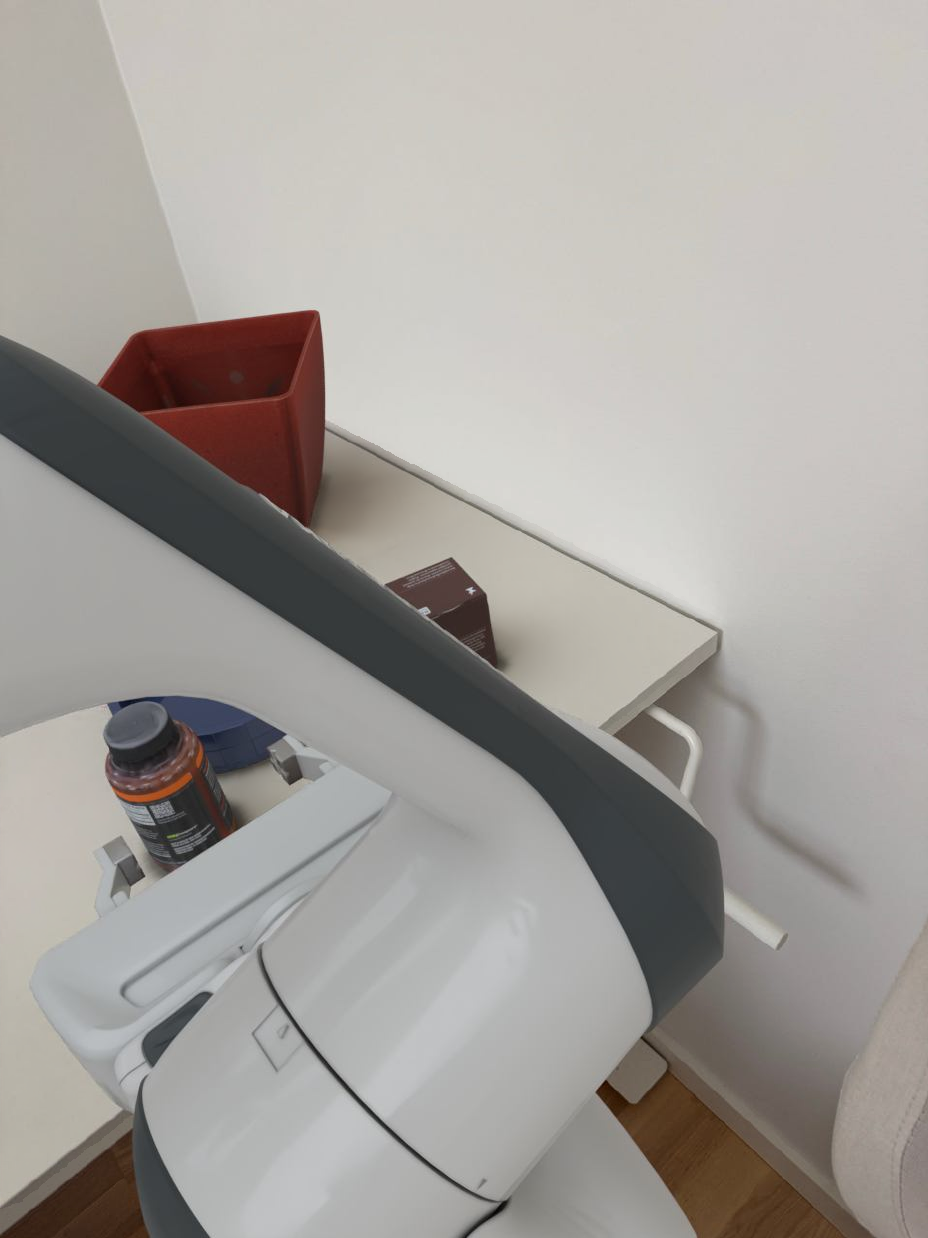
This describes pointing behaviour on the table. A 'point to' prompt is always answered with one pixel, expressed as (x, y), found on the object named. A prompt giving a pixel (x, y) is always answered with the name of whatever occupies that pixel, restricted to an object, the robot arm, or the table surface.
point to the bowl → (218, 729)
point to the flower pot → (237, 398)
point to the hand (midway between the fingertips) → (199, 798)
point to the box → (451, 604)
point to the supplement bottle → (165, 784)
